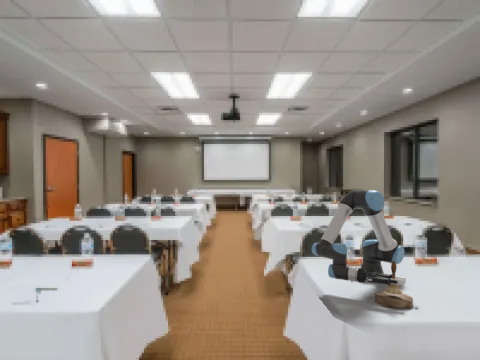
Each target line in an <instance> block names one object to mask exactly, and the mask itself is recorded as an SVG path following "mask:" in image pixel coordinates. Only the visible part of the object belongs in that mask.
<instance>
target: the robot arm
mask: <svg viewBox="0 0 480 360" xmlns="http://www.w3.org/2000/svg"><path fill="white" fill-rule="evenodd" d="M384 197H385V196H384V195H383V193H381V192H380V191H378V190H373V189H369V190H365V189H354V190H351V191H349V192H348V193H346V194H345V195H344V196H343V197H342V198H341V199H340V201H339V202H338V204H337V210H336V211H335V213H334V215H333V217H332V219H331V221H330V222H329V224H328V226H327V227H326V230H325V231H324V233H323V235H321V238H320V240H319V241H318V242H314V243H312V245H311V252H312V254H313V255H314V256H317V257H321V258H325V259H329V260H332V263H330V264H329V265H328V270H327V273H328V277H329V278H331V279H335V280H342V281H343V280H344V281H348V282H349V281H350V282H351V283H353V282H358V283H360V284H361V283H362V284H364V283H366V282H368V283H375V284H381V285H387V286H388V284H389V285H390V283H391V284H396V285H399V286H402V287H405V286H406V280H407V279H406V277H401V276H396V275H395V279H394V278H392V273H391V274H389V273H388V274H387V273H385V272H384V269H383V265H382V262H384V263H389V264H392V261H395V262H396V265H399V264H401V263H402V262H403V260H404V258H405V248H404V246H402V245H399V244H398V241H397V240H396V239H394V238H393V236H392V233H391V232H390V229H389V226H388V224H387V222H386V221H387V220H386V219H385V217H384V214H383V210H384V208H385V198H384ZM356 209H357V210H362V212H363V214H364V216H366V217H367V218H368V220H369V222H370V226H371V228H372V230H373V232H374V234H375V237H376V239H366V240H364V241H362V262H361V265H360V267H354V266H348V264H347V263H348V247H347V244H345V243H339V242H336V243H335V241H336V240H337V238H338V236H339V234H340V232H341V230H342V229H343V227H344V226H345V225H344V224H346V221H347V219H348V218H349V216H350V214H352V213H353V212H354V210H356Z"/></svg>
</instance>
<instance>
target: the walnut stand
mask: <svg viewBox="0 0 480 360" xmlns="http://www.w3.org/2000/svg"><path fill="white" fill-rule="evenodd" d="M374 301H375V303H376V302H377V303H376V304H378V305H380V306H382V307H386V308H389V309H390V308H391V309H396V308H398V310H405V309H411V308H412V307H413V306H414V298H413V297H412V296H410V295H408V294H406V293H403V292H402V294H391V293H387V292H385V290H382V291H377V292H375V293H374Z"/></svg>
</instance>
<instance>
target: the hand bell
mask: <svg viewBox="0 0 480 360" xmlns="http://www.w3.org/2000/svg"><path fill="white" fill-rule="evenodd" d="M390 264H391V265H390V270H391V274H392V278H394V279H395V276H396V272H397V269H398V268H397V264H396V262H395V261H392V263H390ZM384 291H385V292H387V293H391V294H402V293H403V291H402V290H401V289H400V285H396V284H391V283H390V285H389V284H388V285H387V287H386V288H385V290H384Z"/></svg>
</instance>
